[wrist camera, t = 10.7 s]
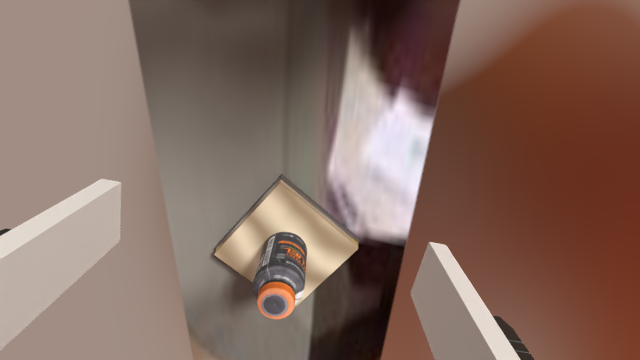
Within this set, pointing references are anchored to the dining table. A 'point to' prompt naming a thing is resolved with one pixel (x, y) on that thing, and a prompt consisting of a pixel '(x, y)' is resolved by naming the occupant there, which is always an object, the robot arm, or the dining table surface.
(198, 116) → the dining table surface
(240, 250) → the plate
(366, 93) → the dining table surface
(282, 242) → the pill bottle
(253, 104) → the dining table surface
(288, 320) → the dining table surface
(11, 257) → the robot arm
